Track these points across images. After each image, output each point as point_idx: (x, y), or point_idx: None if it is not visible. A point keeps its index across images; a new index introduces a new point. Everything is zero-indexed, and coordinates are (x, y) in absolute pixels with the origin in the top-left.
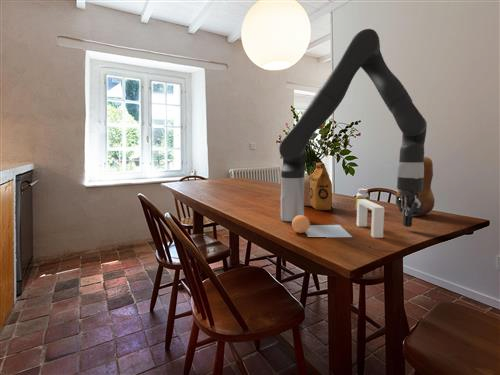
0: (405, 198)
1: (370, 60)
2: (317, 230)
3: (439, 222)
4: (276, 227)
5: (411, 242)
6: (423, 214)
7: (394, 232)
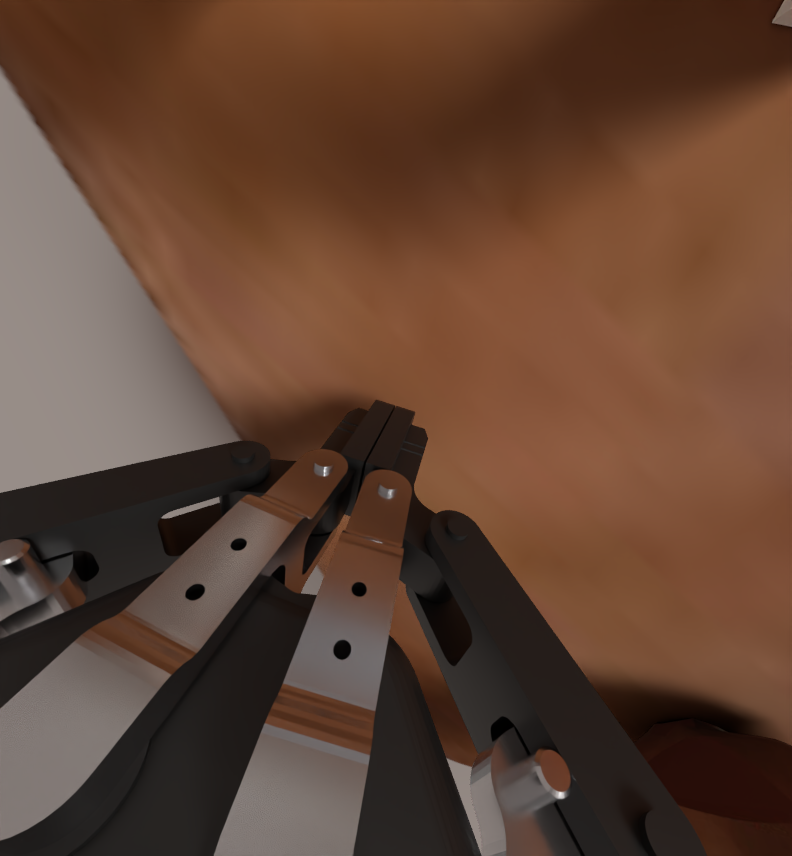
0: (46, 717)
1: None
2: None
3: None
4: None
5: (108, 182)
6: (636, 741)
7: (376, 255)
